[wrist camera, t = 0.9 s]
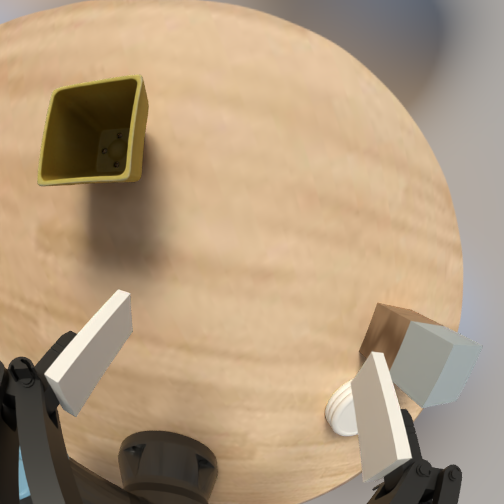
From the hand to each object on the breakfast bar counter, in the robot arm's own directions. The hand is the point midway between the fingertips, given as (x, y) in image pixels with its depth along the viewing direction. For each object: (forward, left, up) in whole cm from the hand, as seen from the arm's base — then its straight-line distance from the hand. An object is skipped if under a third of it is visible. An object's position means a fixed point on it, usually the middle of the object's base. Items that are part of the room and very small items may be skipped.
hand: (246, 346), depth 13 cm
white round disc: (-14, -23, -16) cm, 32 cm away
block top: (-2, -23, -9) cm, 25 cm away
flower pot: (+10, +15, -16) cm, 24 cm away
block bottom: (-2, -23, -16) cm, 28 cm away
